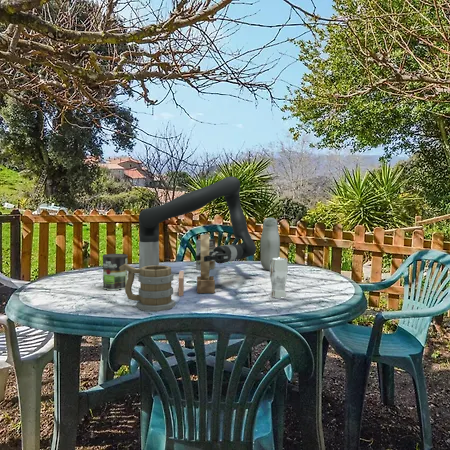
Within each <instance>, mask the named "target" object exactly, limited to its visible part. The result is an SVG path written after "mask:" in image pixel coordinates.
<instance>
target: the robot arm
mask: <svg viewBox="0 0 450 450" xmlns="http://www.w3.org/2000/svg"><path fill="white" fill-rule="evenodd" d="M240 191H241V182H240V180H239V178H237V177H235V176H226V177H223V178H222V179H220V180H219V181H216V182H215V183H212V184H209V185H207V186H203V187H200V188H198V189H196V190H193V191H190V192H186V193H185V194H182V195H180V196H177V197H175V198H173V199H171V200H169V201H168V202H166V203H163V204H161V205H157V206H153V207H147V208H144V209H143V210H141V211H140V213H139V215H138V223H139V243H138V244H139V258H138V269H140V268H142V267H144V266H153V265H155V266H156V265H160V224H161V223H163V222H165V221H167V220H169V219H171V218H176V217H180V216H185V215H187V214H190V213H192V212H196V211H197V210H201V209H202V208H204V207H206V205H208V204H211V202H213V201H214V200H216V199H219V198H222V197H224V199H225V202H226V204H227V207H228V212H229V217H230V223H231V227H232V232H233V236H234V238H235V239H237V240H238V239H239V240H241V239H242V240H243V242H242V243H239V244H237V243H236V244H235V243H234V244H224V245H219V246H215V248H214V250H213V251H210V252H209V256H204V262H207V261H215V264H216V263H217V264H225V263H229V262H232V261H236V260H242V259H246V258H249V257H251V256H254V255H255V254H256V251H257V246H256V244H255V242H254V240H253V237H252V236H251V234H250V232H249V228H248V224H247V221H246V218H245V214H244V211H243V208H242V204H241V199H240V198H241V196H240ZM199 260H201V253H199V255H196V254H195V262H196V261H199ZM138 275H140V274H138Z"/></svg>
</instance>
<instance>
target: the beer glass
mask: <svg viewBox="0 0 450 450" xmlns="http://www.w3.org/2000/svg"><path fill="white" fill-rule="evenodd" d="M288 268H289V267H288V258H286V257H280V258H271V259H270V270H269V278H270V282H271V292H270V297H271V298H272V297H276V298H275V299H278V298H281V297H286V298H287V294H286V284H287V279H288V270H289V269H288ZM281 299H282V298H281Z"/></svg>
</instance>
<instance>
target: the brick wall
mask: <svg viewBox="0 0 450 450" xmlns="http://www.w3.org/2000/svg"><path fill="white" fill-rule="evenodd" d="M184 283H185V271H184V270H179V273H178V296H179V297H182V296H184V291H185V290H184V289H185V284H184Z"/></svg>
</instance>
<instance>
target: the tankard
mask: <svg viewBox="0 0 450 450" xmlns="http://www.w3.org/2000/svg"><path fill="white" fill-rule="evenodd" d="M119 269H120V270H121V271H123V270H124V269H125V270H127V282H126V285H125V289H124V291H125V294H126V297H127V298H128V300H131V301H134V302H136V301H137V302H136V307H137V308H138V307H139V308H140V309H139V308H138V309H139V310H141V309H142V310H141V311H143V310H150V311H149V312H161V311H168V310H171V309H172V308H174V307H175V306H176V301H175V300H174V299H172V295H173V294H174V287H172V282H173V281H174V274H173V273H172V267H171V266H168V265H163V264H162V265H161V264H159V265H156V266H155V265H153V266H144V267H142V268H140V269H139V268H136V267H133V266H131V265H129V264H128V263H127V264H124V265H122V266H120V267H119ZM135 274H138V275H137V276H138V280H137V281H138V282H139V283H140V285H139V288H138V289H137V290H138V294H134V293H133V291H132V288H133V287H132V286H133V284H134V280H135ZM139 274H140V275H139Z"/></svg>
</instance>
